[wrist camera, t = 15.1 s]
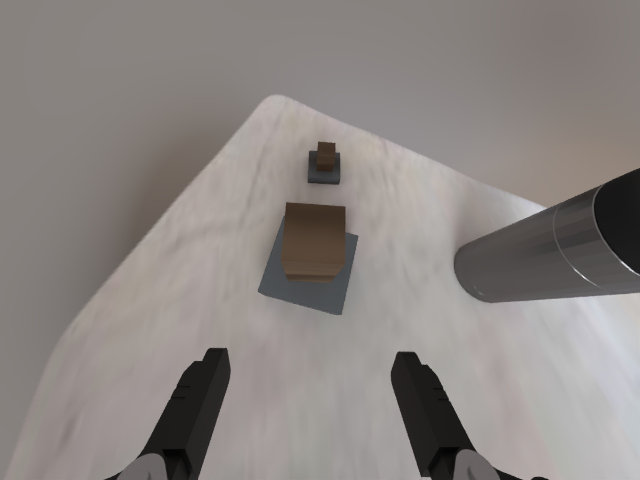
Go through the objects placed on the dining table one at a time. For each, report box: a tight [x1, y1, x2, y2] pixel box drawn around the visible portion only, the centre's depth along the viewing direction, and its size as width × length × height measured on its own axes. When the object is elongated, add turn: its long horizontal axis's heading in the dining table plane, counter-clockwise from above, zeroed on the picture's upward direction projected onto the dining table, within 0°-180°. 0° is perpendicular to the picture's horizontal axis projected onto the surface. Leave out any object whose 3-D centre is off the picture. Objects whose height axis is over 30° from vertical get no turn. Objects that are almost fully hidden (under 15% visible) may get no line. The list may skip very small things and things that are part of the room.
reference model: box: [308, 142, 340, 184], centre depth 35 cm, size 5×5×5 cm
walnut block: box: [281, 202, 346, 283], centre depth 23 cm, size 5×5×10 cm
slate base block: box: [258, 216, 358, 315], centre depth 30 cm, size 10×10×5 cm
